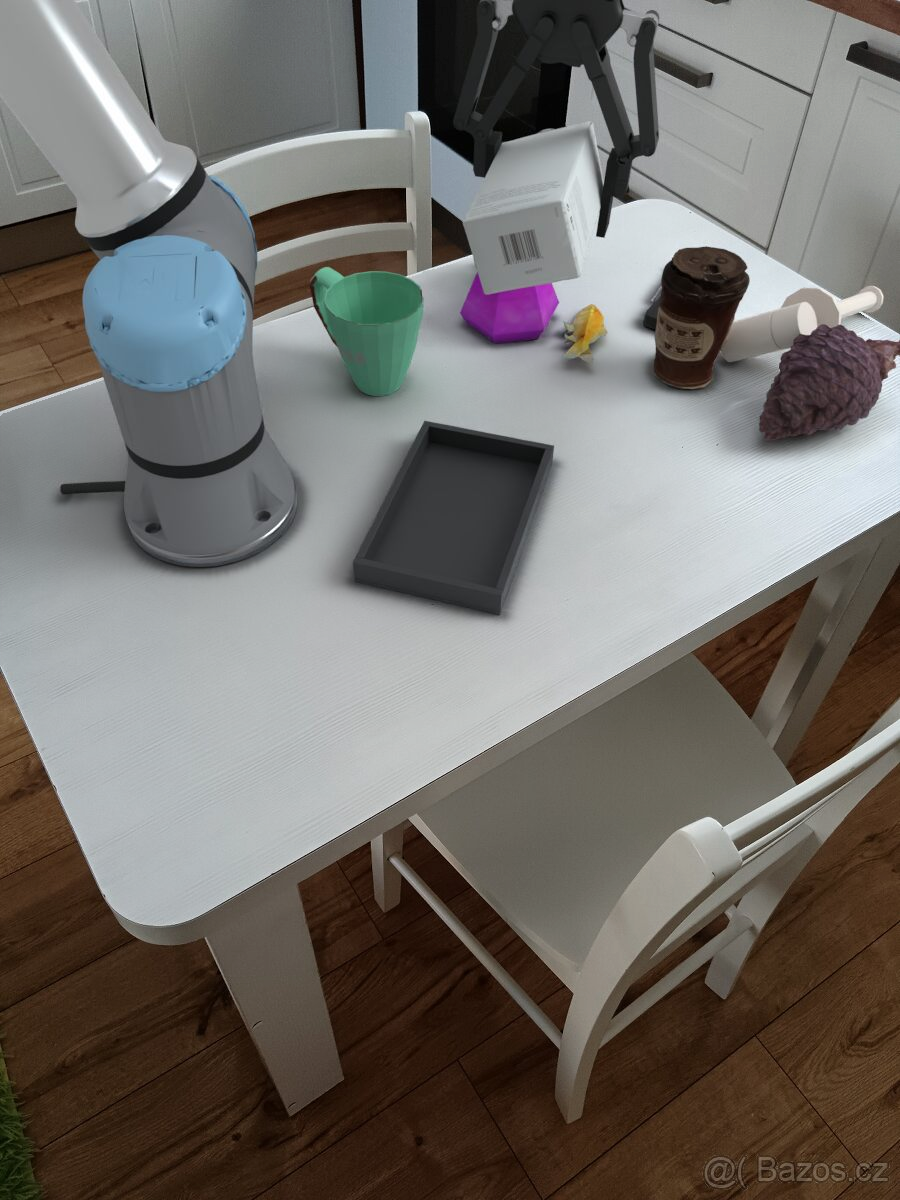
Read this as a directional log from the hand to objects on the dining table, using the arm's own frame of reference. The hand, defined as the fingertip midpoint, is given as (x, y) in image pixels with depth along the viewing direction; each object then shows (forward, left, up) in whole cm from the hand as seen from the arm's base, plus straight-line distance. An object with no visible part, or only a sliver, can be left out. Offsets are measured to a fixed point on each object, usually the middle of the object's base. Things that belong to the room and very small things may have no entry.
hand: (545, 221), depth 84 cm
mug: (-17, +7, -19) cm, 26 cm away
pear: (+1, +14, -19) cm, 24 cm away
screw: (+21, +19, -19) cm, 34 cm away
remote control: (+22, +15, -19) cm, 33 cm away
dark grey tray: (-10, -17, -19) cm, 28 cm away
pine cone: (+29, -8, -19) cm, 36 cm away
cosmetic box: (-6, -13, +4) cm, 14 cm away
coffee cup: (+17, +1, -19) cm, 26 cm away
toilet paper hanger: (+33, +3, -19) cm, 38 cm away
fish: (+6, +10, -18) cm, 22 cm away
